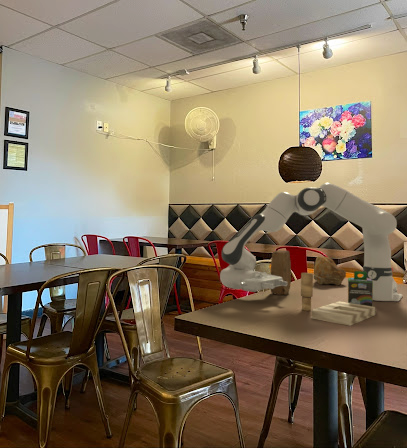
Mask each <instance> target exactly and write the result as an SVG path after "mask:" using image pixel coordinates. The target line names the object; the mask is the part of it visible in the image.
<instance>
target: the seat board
mask: <svg viewBox="0 0 407 448" xmlns="http://www.w3.org/2000/svg"><path fill="white" fill-rule="evenodd" d="M310 312H311V313H310V314H311V319H314V320H319V321H325V322H328V323H333V324H338V325H344V326H354V325H355V324H358V323H360V322H362V321H365V320H367V319H369V318H372V317H373V316H374V317H375V315H376V306H373V305H372V306H366V305H359V304H353V303H348V302H345V301H340V300H339V301H336V302H332V303H330V304H326V305H323V306H319V307H315V308H313V309H312V308H311V311H310Z"/></svg>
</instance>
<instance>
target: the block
mask: <svg viewBox="0 0 407 448" xmlns="http://www.w3.org/2000/svg"><path fill="white" fill-rule="evenodd" d="M290 255H291V254H290V251H289V250H275V251H272V253H271V261H270V275H275V276H280V277H282V278H283V281H286V282H287V286H277V287H275V288H274V289H270V293H271V294H273V295H279V296H285V295H288V294H289V292H290V289H291V283H292V280H291V279H292V278H291V277H292V268H291V267H292V266H291V258H290V257H291V256H290Z"/></svg>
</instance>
